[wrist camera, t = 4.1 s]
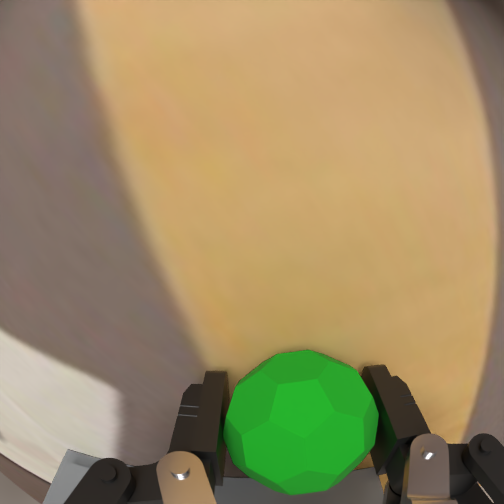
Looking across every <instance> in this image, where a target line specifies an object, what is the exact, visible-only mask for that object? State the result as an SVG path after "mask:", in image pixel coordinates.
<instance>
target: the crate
mask: <svg viewBox="0 0 504 504" xmlns="http://www.w3.org/2000/svg"><path fill="white" fill-rule="evenodd" d="M98 460H101V459H100V458H96V457H92V456H89V455H85V454H82V453H78V452H75V451H72V450H67V452H66V454H65V456H64V458H63V460H62V462H61V464H60V466H59V469H58V471H57V473H56V475H55V477H54V479H53V482H52V484H51V486H50V488H49V490H48V493H47V495H46V497H45V500H44V502H43V504H64V502H65V501H66V500H67V498H68V497H69V495H70V494H71V493H72V491H73V490H74V489H75V487H76V486H77V485H78V483H79V482H80V480H81V479H82V478H83V476H84V475H85V474H86V472H87V471H88V470H89V468H90V467H91V466H92V465H93V464H94V463H95V462H96V461H98ZM127 466H128V467H132V466H130V465H127ZM383 497H384V493H383V490H382V486H381V482H380V479H379V475H376V471H375V468H374V467H371V468H366V469H360V470H354V471H351V472H350V473H349V474H348V475H347V476H346V477H345V478H344V479H343V480H342V481H340V482H339V483H338V484H336V485H335V486H333V487H331V488H330V489H328V490H326V491H320V492H313V493H306V494H297V495H288V494H284V493H280V492H276V491H274V490H272V489H270V488H268V487H266V486H264V485H263V484H261V483H259V482H257V481H255V480H254V479H252V478H229V477H223V486H215V492H214V498H215V500H216V503H217V504H382V503H383Z"/></svg>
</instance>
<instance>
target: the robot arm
mask: <svg viewBox="0 0 504 504" xmlns="http://www.w3.org/2000/svg"><path fill="white" fill-rule="evenodd" d="M361 378H362V380H363V382H364V383H365V385H366V387H367V388H368V390H369V391H370V393H371V395H372V396H373V399H374V402H375V405H376V408H377V410H378V413H379V418H378V425H377V432H376V438H375V445H374V446H373V448H372V449H371V450H370V454H371V457H372V461H373V464H374V468H375V471H376V475H382V474H386V473H387V476H388V479H389V480H388V481H387V483H386V485H385V491H384V497H383V503H382V504H504V447H503V445H502V444H501V443H500V442H499V441H498V440H497V439H496V438H495V437H494V436H492V435H489V434H478V435H476V436H474V437H473V438H472V439H471V441H470V442H469V444H447V443H446V442H445V440H444V439H443V438H441V437H440V436H438V435H435V434H431V432H430V430H429V428H428V426H427V424H426V422H425V420H424V418H423V416H422V414H421V412H420V410H419V408H418V406H417V404H415V400H414V398H413V396H411V392H410V390H409V388H408V386H407V384H406V383H405V382H404V381H402V380H401V379H400V378H399V377H398V376H393V377H391V375H390V373H389V371H388V369H387V367H386V366H385V365H374V366H366V367H364V369H363V373H362V376H361ZM228 409H229V392H228V380H227V372H226V371H206V373H205V377H204V382H203V384H191V385H190V386H189V387H188V389H187V390H186V391H185V392H184V393H183V396H182V400H181V404H180V408H179V412H178V416H177V420H176V424H175V428H174V432H173V436H172V440H171V444H170V448H169V451H168V453H167V454H166V455H165V456H164V457H162V458H161V459H160V460H159V461H158V462H156V463H153V464H150V465H143V466H132V467H128V466H127V465H126V464H125V463H123V462H122V461H120V460H118V459H114V458H104V459H101V460H98V461H96V462H95V463H94V464H93V465H92V466H91V467H90V468H89V470H88V471H87V472H86V474H85V475H84V476H83V478H82V479H81V480H80V482H79V483H78V485H77V486H76V487H75V489H74V490H73V491H72V493H71V494H70V495H69V497H68V498H67V500H66V501H65V502H64V504H217V503H216V500H215V498H214V492H215V486H223V477H224V465H225V454H226V444H225V441H224V439H223V430H224V424H225V419H226V415H227V412H228ZM477 481H478V482H479V483H480V485H481V486H482V487H483V488H484V489H485V491H486V492H487V493H488V495H489V496H490V497H491V499H492V500H493V502H494V503H492V502H491V500H490V499H489V498H488V496H487V495H486V494H485V493H484V492H483V490H482V489H481V487H480V486H479V485H478V484H477Z"/></svg>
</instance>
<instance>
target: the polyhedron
mask: <svg viewBox="0 0 504 504" xmlns="http://www.w3.org/2000/svg"><path fill="white" fill-rule="evenodd" d="M378 418H379V413H378V410H377V408H376V405H375V402H374V399H373V396H372V395H371V393H370V391H369V390H368V388H367V387H366V385H365V383H364V382H363V380H362V378H361V377H360V375H359V373H358V372H357V370H355V369H354V368H353V367H351V366H350V365H347V364H345V363H343V362H340V361H338V360H336V359H333V358H331V357H329V356H326V355H324V354H322V353H318V352H315V351H311V350H303V351H296V352H289V353H281V354H276V355H275V356H273V357H271V358H269V359H268V360H266V361H264V362H263V363H261V364H260V365H259V366H258V367H256V368H255V369H254V370H253V371H251V372H250V373H249V374H247V375H246V376H245V377H244V378H242V379H241V380H240V381H239V382H238V384H237V385H236V387H235V390H234V393H233V396H232V399H231V402H230V406H229V409H228V412H227V415H226V419H225V424H224V430H223V439H224V441H225V444H226V446H227V449H228V451H229V454H230V456H231V459H232V461H233V464H234V465H235V466H236V467H238V468H239V469H240V470H241V471H242V472H244V473H245V474H246V475H247V476H248V477H250V478H252V479H254V480H255V481H257V482H259V483H261V484H263V485H264V486H266V487H268V488H270V489H272V490H274V491H276V492H280V493H284V494H288V495H297V494H306V493H313V492H320V491H326V490H328V489H330V488H331V487H333V486H335V485H336V484H338V483H339V482H340V481H342V480H343V479H344V478H345V477H346V476H347V475H348V474H349V473H350V472H351V471H352V470H353V469H354V468H356V467H357V466H358V465H359V464H360V463H361V462H362V461H363V459H364V458H365V457H366V455H367V454H368V453H369V452H370V450H371V449H372V448H373V446H374V445H375V438H376V432H377V425H378Z"/></svg>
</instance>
